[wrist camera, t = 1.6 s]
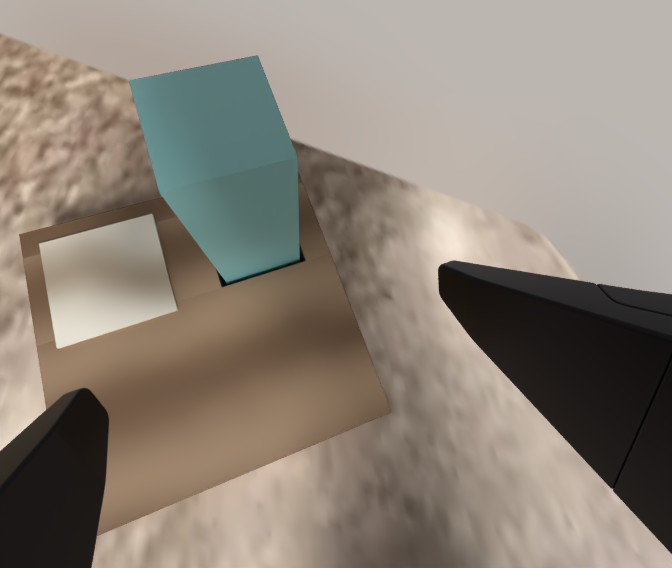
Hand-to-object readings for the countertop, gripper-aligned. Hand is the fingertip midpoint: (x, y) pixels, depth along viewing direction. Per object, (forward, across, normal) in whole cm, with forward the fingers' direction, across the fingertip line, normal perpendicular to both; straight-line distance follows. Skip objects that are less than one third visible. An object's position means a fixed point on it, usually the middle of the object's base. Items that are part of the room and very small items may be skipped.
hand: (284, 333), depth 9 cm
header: (+12, +4, +7) cm, 14 cm away
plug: (+15, 0, +4) cm, 15 cm away
